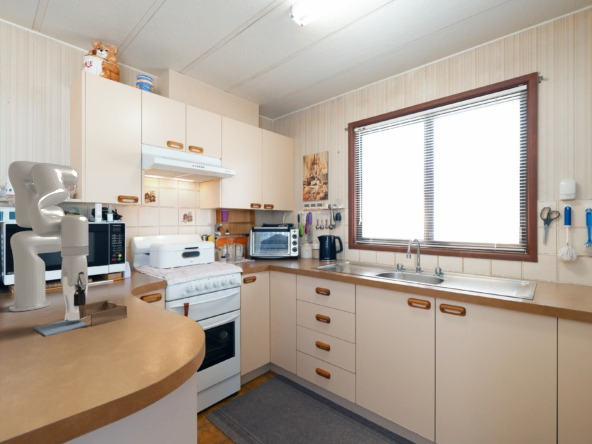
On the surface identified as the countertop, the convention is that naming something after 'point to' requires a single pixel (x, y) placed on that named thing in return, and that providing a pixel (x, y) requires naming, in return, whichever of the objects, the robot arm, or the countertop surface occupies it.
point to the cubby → (105, 312)
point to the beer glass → (72, 302)
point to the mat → (60, 327)
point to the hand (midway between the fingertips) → (75, 303)
